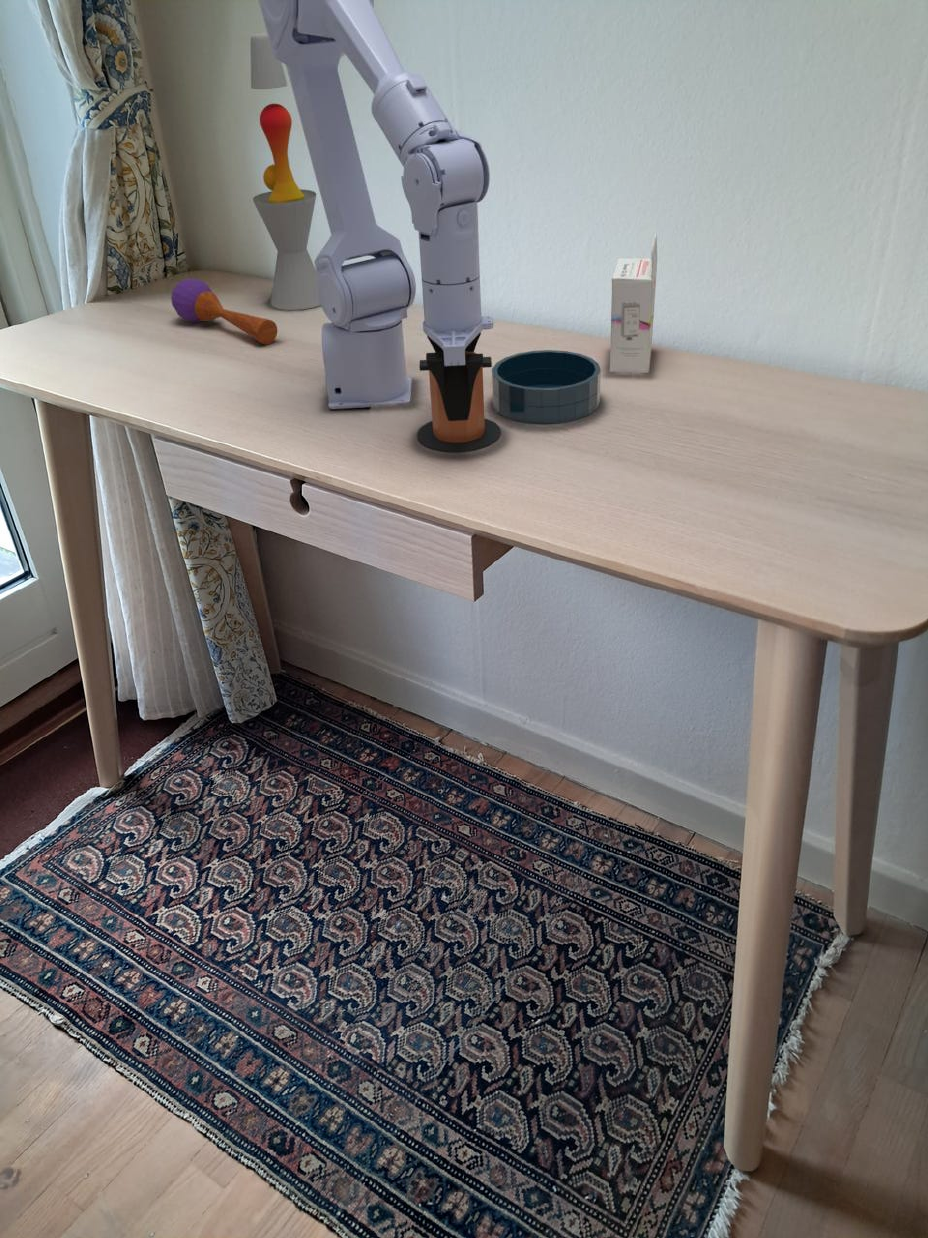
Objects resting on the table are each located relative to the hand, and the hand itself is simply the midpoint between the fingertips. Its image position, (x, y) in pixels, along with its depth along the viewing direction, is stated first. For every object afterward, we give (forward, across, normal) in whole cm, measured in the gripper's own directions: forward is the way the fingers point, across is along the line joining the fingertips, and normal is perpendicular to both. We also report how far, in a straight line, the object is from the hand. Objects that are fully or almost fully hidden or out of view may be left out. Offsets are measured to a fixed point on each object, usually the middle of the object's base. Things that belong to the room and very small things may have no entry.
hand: (457, 407), depth 104 cm
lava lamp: (+4, +52, +24) cm, 58 cm away
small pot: (+3, 0, 0) cm, 3 cm away
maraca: (+4, +40, +32) cm, 52 cm away
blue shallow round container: (+4, +8, -10) cm, 13 cm away
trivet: (+4, 0, 0) cm, 4 cm away
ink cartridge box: (+4, +20, -22) cm, 29 cm away
